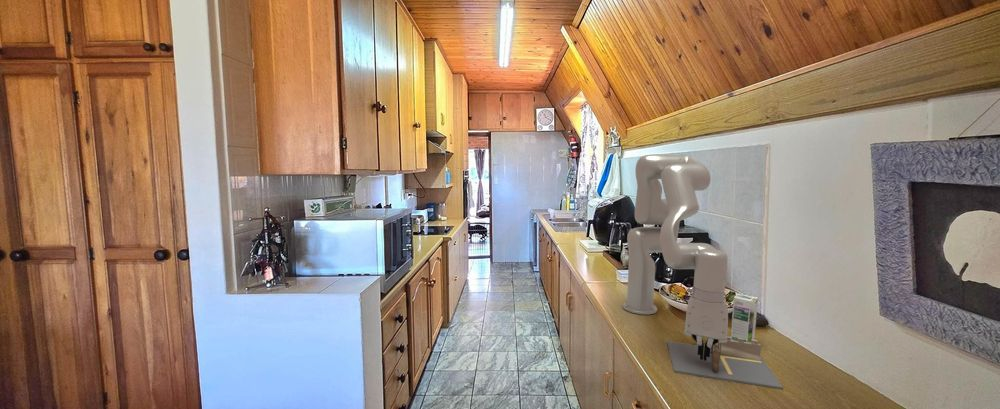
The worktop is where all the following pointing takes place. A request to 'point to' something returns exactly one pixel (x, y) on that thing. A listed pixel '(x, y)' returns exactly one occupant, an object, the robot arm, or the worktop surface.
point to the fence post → (740, 349)
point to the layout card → (721, 366)
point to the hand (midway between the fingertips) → (703, 357)
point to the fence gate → (716, 358)
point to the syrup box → (744, 317)
